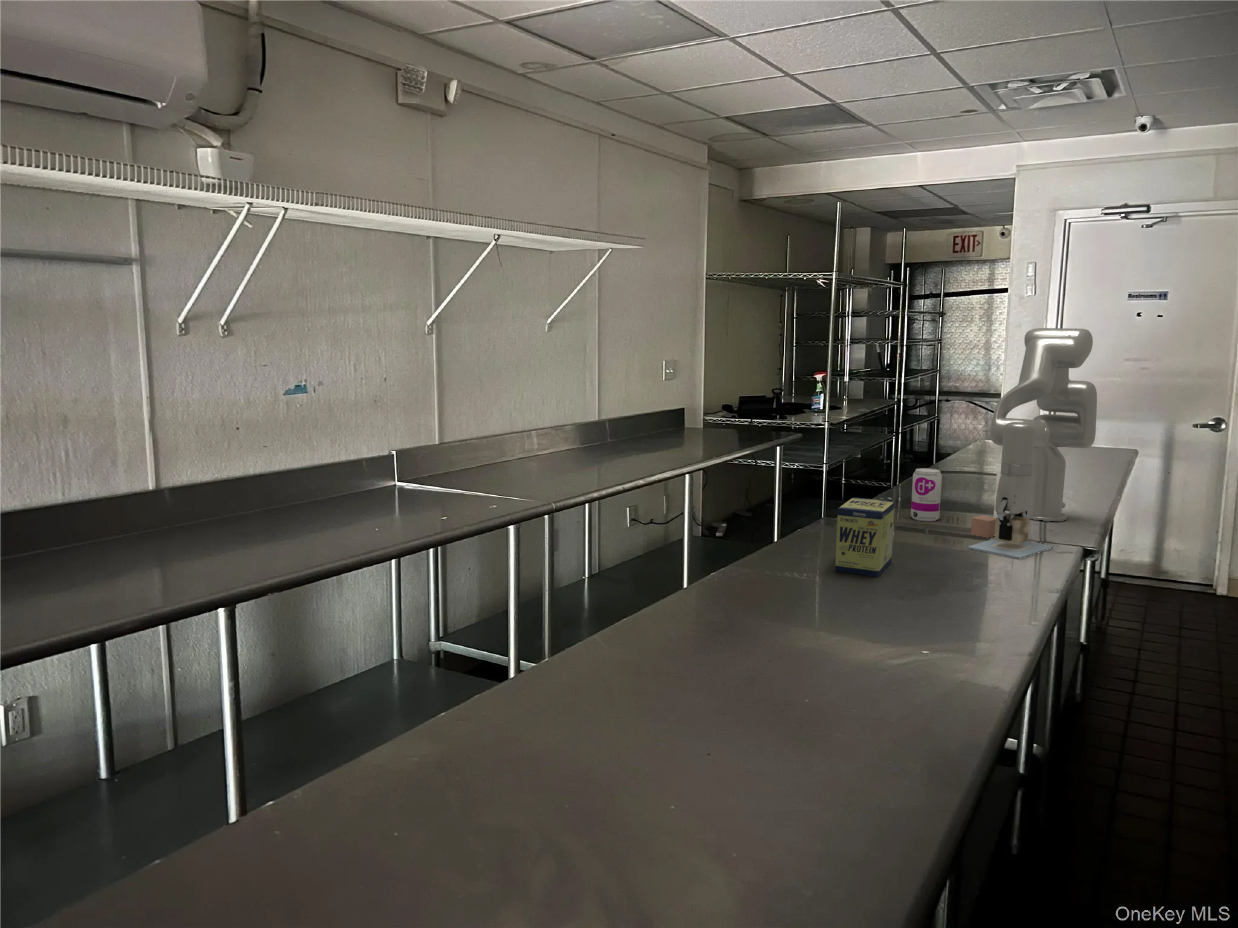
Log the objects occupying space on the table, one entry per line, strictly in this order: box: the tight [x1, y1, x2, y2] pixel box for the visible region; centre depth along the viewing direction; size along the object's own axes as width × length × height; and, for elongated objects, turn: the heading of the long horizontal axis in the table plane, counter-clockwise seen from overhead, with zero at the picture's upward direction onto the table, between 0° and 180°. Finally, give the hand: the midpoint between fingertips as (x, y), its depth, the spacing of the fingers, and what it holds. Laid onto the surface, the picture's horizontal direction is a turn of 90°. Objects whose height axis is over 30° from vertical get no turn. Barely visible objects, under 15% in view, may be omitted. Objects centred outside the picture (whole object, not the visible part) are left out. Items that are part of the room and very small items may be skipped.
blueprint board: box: [967, 538, 1054, 560], centre depth 232 cm, size 18×14×1 cm
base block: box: [993, 515, 1030, 544], centre depth 232 cm, size 6×6×6 cm
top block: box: [970, 515, 997, 539], centre depth 247 cm, size 5×5×5 cm
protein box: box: [834, 497, 896, 578], centre depth 213 cm, size 10×16×16 cm
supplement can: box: [910, 467, 943, 522], centre depth 267 cm, size 8×8×15 cm
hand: (1011, 537), depth 232 cm, fingers closed on base block, 6 cm apart
